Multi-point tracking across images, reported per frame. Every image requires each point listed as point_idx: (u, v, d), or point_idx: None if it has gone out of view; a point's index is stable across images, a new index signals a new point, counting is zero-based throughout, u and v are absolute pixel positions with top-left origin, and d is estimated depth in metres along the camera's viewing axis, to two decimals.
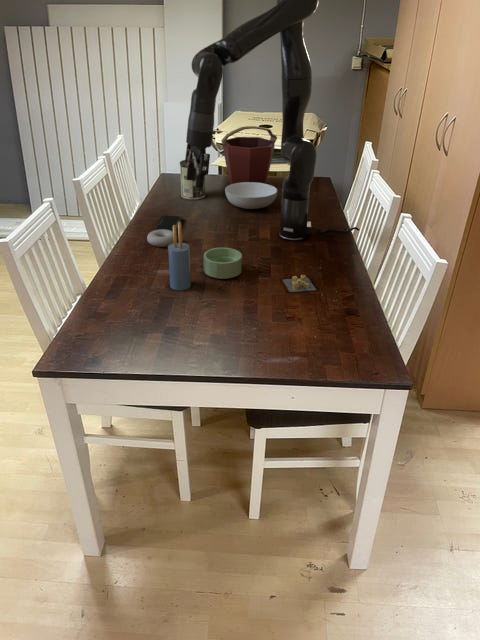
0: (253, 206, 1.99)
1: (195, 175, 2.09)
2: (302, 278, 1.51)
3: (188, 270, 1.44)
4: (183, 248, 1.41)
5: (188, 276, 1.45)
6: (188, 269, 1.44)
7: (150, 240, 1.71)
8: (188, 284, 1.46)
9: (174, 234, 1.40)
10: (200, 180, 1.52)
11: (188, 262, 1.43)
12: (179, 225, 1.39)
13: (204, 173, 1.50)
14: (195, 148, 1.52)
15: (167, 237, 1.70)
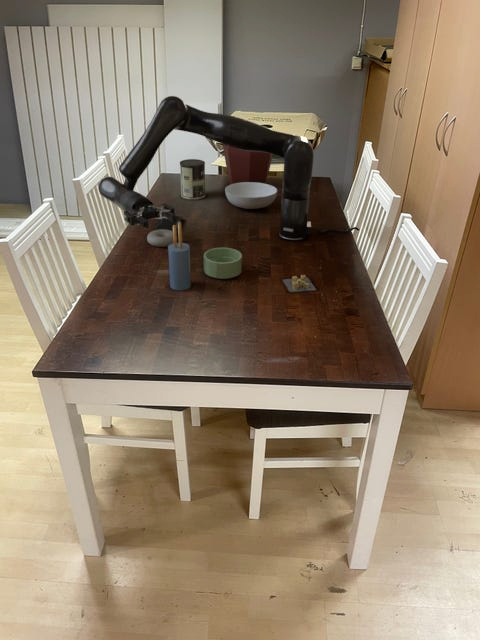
0: (253, 206, 1.99)
1: (195, 175, 2.09)
2: (302, 278, 1.51)
3: (188, 270, 1.44)
4: (183, 248, 1.41)
5: (188, 276, 1.45)
6: (188, 269, 1.44)
7: (150, 240, 1.71)
8: (188, 284, 1.46)
9: (174, 234, 1.40)
10: (140, 223, 1.46)
11: (188, 262, 1.43)
12: (179, 225, 1.39)
13: (130, 221, 1.47)
14: None
15: (167, 237, 1.70)
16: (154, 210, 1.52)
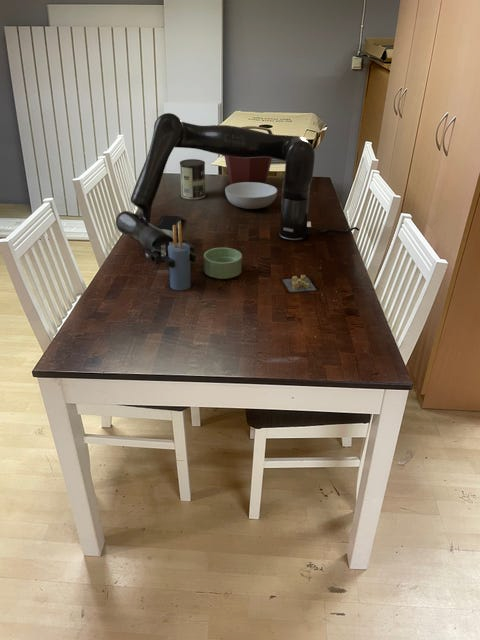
0: (253, 206, 1.99)
1: (195, 175, 2.09)
2: (302, 278, 1.51)
3: (188, 270, 1.44)
4: (183, 248, 1.41)
5: (188, 276, 1.45)
6: (188, 269, 1.44)
7: None
8: (188, 284, 1.46)
9: (174, 234, 1.40)
10: (165, 263, 1.42)
11: (188, 262, 1.43)
12: (179, 225, 1.39)
13: (155, 260, 1.43)
14: None
15: None
16: None
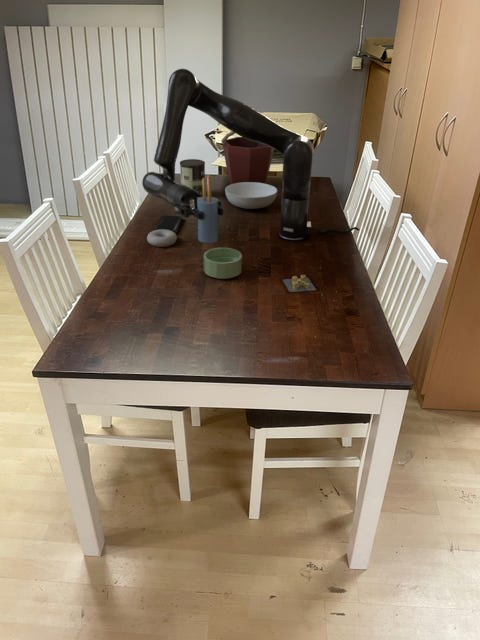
0: (253, 206, 1.99)
1: (195, 175, 2.09)
2: (302, 278, 1.51)
3: (216, 223, 1.50)
4: (212, 201, 1.48)
5: (216, 229, 1.51)
6: (216, 222, 1.50)
7: (150, 240, 1.71)
8: (216, 237, 1.53)
9: (203, 187, 1.46)
10: (195, 215, 1.48)
11: (216, 215, 1.49)
12: (208, 178, 1.45)
13: (185, 212, 1.49)
14: None
15: (167, 237, 1.70)
16: None
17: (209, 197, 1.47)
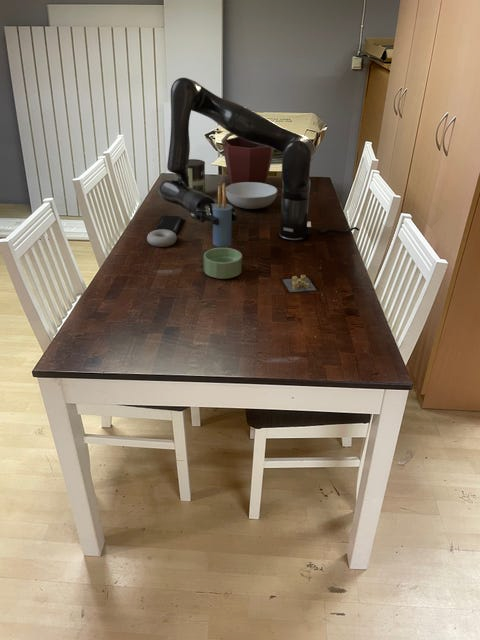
0: (253, 206, 1.99)
1: (195, 175, 2.09)
2: (302, 278, 1.51)
3: (230, 228, 1.60)
4: (227, 207, 1.57)
5: (230, 234, 1.61)
6: (230, 227, 1.60)
7: (150, 240, 1.71)
8: (229, 241, 1.62)
9: (219, 194, 1.55)
10: (210, 221, 1.57)
11: (230, 221, 1.59)
12: (223, 186, 1.55)
13: (201, 218, 1.58)
14: None
15: (167, 237, 1.70)
16: None
17: (224, 204, 1.56)
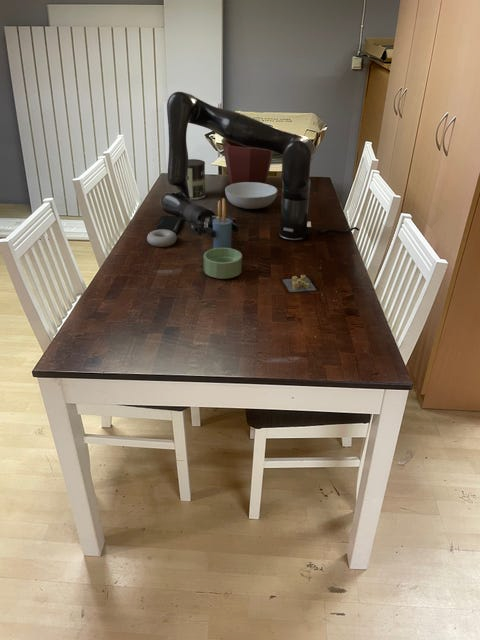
0: (253, 206, 1.99)
1: (195, 175, 2.09)
2: (302, 278, 1.51)
3: (230, 242, 1.62)
4: (226, 222, 1.59)
5: (230, 247, 1.63)
6: (230, 241, 1.62)
7: (150, 240, 1.71)
8: None
9: (219, 209, 1.57)
10: (207, 233, 1.59)
11: (230, 234, 1.61)
12: (223, 201, 1.57)
13: (198, 231, 1.60)
14: None
15: (167, 237, 1.70)
16: None
17: (224, 218, 1.58)
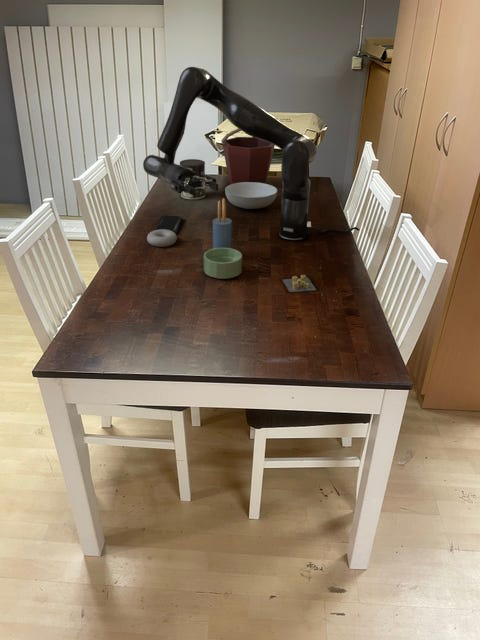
0: (253, 206, 1.99)
1: None
2: (302, 278, 1.51)
3: (230, 242, 1.62)
4: (226, 222, 1.59)
5: (230, 247, 1.63)
6: (230, 241, 1.62)
7: (150, 240, 1.71)
8: None
9: (219, 209, 1.57)
10: (187, 191, 1.62)
11: (230, 234, 1.61)
12: (223, 201, 1.57)
13: (178, 189, 1.63)
14: None
15: (167, 237, 1.70)
16: (198, 180, 1.68)
17: (224, 218, 1.58)
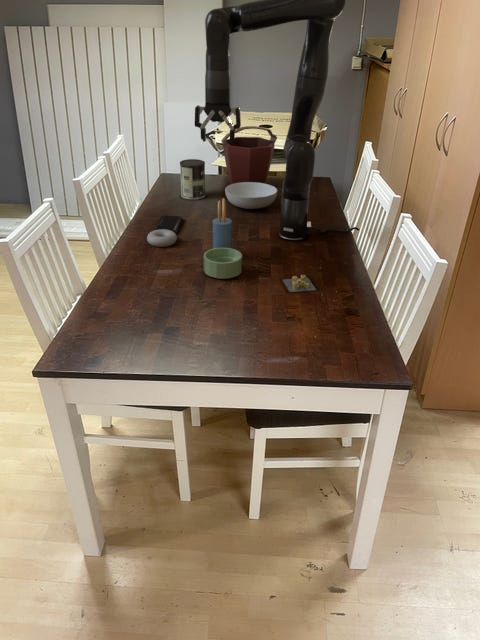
0: (253, 206, 1.99)
1: (195, 175, 2.09)
2: (302, 278, 1.51)
3: (230, 242, 1.62)
4: (226, 222, 1.59)
5: (230, 247, 1.63)
6: (230, 241, 1.62)
7: (150, 240, 1.71)
8: None
9: (219, 209, 1.57)
10: (201, 132, 1.63)
11: (230, 234, 1.61)
12: (223, 201, 1.57)
13: (195, 124, 1.61)
14: None
15: (167, 237, 1.70)
16: (222, 119, 1.59)
17: (224, 218, 1.58)
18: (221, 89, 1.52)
